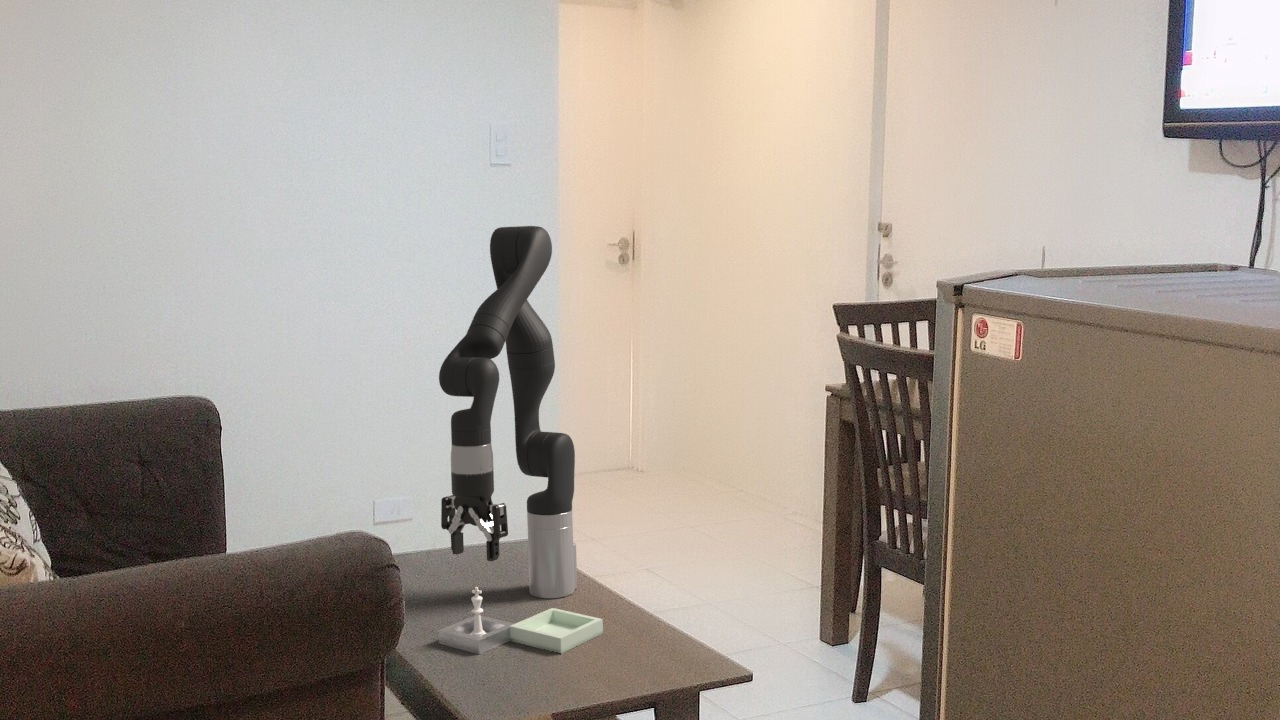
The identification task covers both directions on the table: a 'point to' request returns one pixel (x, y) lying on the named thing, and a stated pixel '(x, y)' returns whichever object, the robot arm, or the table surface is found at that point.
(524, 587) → the table surface
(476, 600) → the chess piece
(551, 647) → the tray
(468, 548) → the table surface
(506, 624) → the collar block
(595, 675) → the table surface
